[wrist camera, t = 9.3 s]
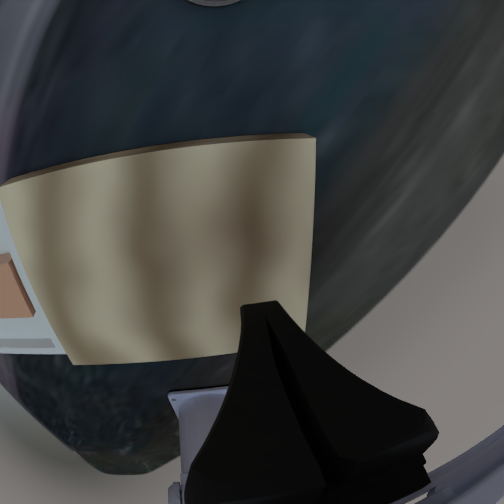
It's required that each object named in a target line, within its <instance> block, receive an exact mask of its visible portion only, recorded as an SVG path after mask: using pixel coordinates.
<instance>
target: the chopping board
mask: <svg viewBox="0 0 504 504" xmlns="http://www.w3.org/2000/svg"><path fill="white" fill-rule="evenodd" d="M315 161H316V138H314V137H312V136H310V135H308V134H305V133H288V134H265V135H249V136H235V137H223V138H213V139H203V140H194V141H186V142H178V143H170V144H163V145H156V146H150V147H144V148H138V149H132V150H126V151H121V152H115V153H110V154H105V155H100V156H95V157H91V158H86V159H82V160H77V161H73V162H69V163H65V164H61V165H57V166H53V167H49V168H45V169H41V170H38V171H34V172H31V173H27V174H24V175H20V176H17V177H14V178H11V179H9V180H8V181H6V182H5V183H3V184H2V185H0V201H1V204H2V208H3V211H4V214H5V217H6V221H7V224H8V227H9V230H10V233H11V236H12V238H13V241H14V244H15V247H16V249H17V252H18V255H19V257H20V260H21V262H22V265H23V267H24V270H25V272H26V274H27V277H28V279H29V281H30V284H31V286H32V288H33V290H34V293H35V295H36V297H37V299H38V301H39V303H40V305H41V307H42V309H43V311H44V313H45V315H46V317H47V319H48V321H49V323H50V325H51V327H52V329H53V331H54V332H55V334H56V336H57V338H58V340H59V341H60V343H61V345H62V347H63V348H64V350H65V352H66V354H67V355H68V357H69V359H70V360H71V362H72V363H73V365H94V364H121V363H139V362H153V361H166V360H177V359H187V358H197V357H206V356H214V355H222V354H230V353H237V352H238V347H239V340H240V333H241V316H240V307H241V306H242V305H245V304H252V303H260V302H266V301H273V300H277V301H278V302H279V303H280V304H281V305H282V307H283V308H284V309H285V311H286V312H287V313H288V314H289V315H290V317H291V318H292V319H293V320H294V321H295V322H296V323H297V325H298V326H299V327H300V328H301V329H302V330H303V331H304V332H305V327H306V317H307V306H308V294H309V282H310V268H311V254H312V237H313V218H314V195H315Z"/></svg>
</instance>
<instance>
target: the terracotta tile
mask: <svg viewBox="0 0 504 504" xmlns="http://www.w3.org/2000/svg"><path fill="white" fill-rule="evenodd" d="M35 313H36V310H35V309H34V306H33V304H32V302H31V300H30V298H29V296H28V294H27V292H26V290H25V288H24V285H23V283H22V281H21V279H20V276H19V274H18V272H17V269H16V267H15V265H14V262H13V260H12V257H11V255H10V253H6V254H0V319H2V318H29V317H34V315H35Z"/></svg>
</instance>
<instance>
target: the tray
mask: <svg viewBox="0 0 504 504" xmlns="http://www.w3.org/2000/svg"><path fill="white" fill-rule="evenodd" d="M6 253H10V255H11V257H12V260H13V262H14V265H15V267H16V269H17V272H18V274H19V276H20V279H21V281H22V283H23V285H24V288H25V290H26V292H27V294H28V296H29V298H30V300H31V302H32V304H33V306H34V309H35V310H36V313H35V315H34V317H29V318H2V319H0V353H12V354H66V352H65V350H64V348H63V347H62V345H61V343H60V341H59V340H58V338H57V336H56V334H55V332H54V331H53V329H52V327H51V325H50V323H49V321H48V319H47V317H46V315H45V313H44V311H43V309H42V307H41V305H40V303H39V301H38V299H37V297H36V295H35V293H34V290H33V288H32V286H31V284H30V281H29V279H28V277H27V274H26V272H25V270H24V267H23V265H22V262H21V260H20V257H19V255H18V252H17V249H16V247H15V244H14V241H13V238H12V236H11V233H10V230H9V227H8V224H7V221H6V217H5V214H4V211H3V208H2V204H1V201H0V254H6Z"/></svg>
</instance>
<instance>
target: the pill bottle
mask: <svg viewBox="0 0 504 504" xmlns="http://www.w3.org/2000/svg"><path fill="white" fill-rule="evenodd" d="M188 1H190V2H193V3H196V4H199V5H204V6H224V5H229V4H232V3H235V2H238V1H240V0H188Z"/></svg>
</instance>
